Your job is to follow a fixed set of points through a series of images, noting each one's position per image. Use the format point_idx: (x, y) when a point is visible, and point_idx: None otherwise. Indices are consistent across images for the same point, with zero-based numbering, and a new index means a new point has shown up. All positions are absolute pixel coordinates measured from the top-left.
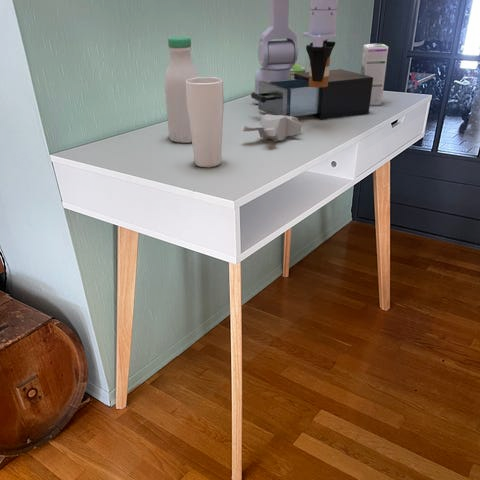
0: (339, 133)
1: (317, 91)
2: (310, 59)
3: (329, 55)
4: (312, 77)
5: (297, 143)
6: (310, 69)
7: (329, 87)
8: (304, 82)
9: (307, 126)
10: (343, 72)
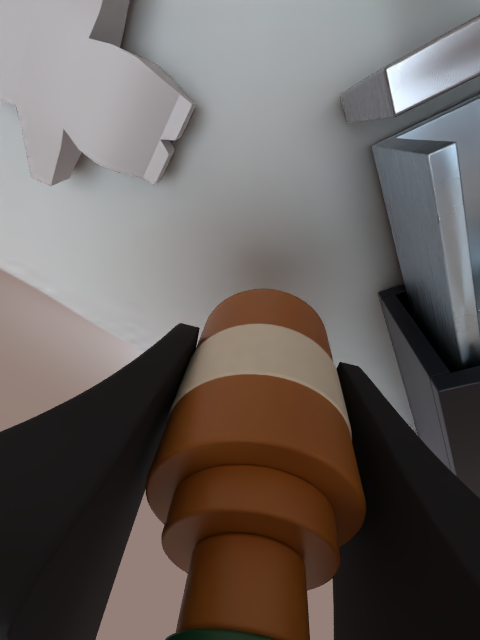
0: (177, 320)
1: (447, 334)
2: (45, 416)
3: (335, 582)
4: (168, 333)
5: (19, 157)
6: (224, 357)
7: (431, 398)
8: None
9: (274, 226)
10: None
